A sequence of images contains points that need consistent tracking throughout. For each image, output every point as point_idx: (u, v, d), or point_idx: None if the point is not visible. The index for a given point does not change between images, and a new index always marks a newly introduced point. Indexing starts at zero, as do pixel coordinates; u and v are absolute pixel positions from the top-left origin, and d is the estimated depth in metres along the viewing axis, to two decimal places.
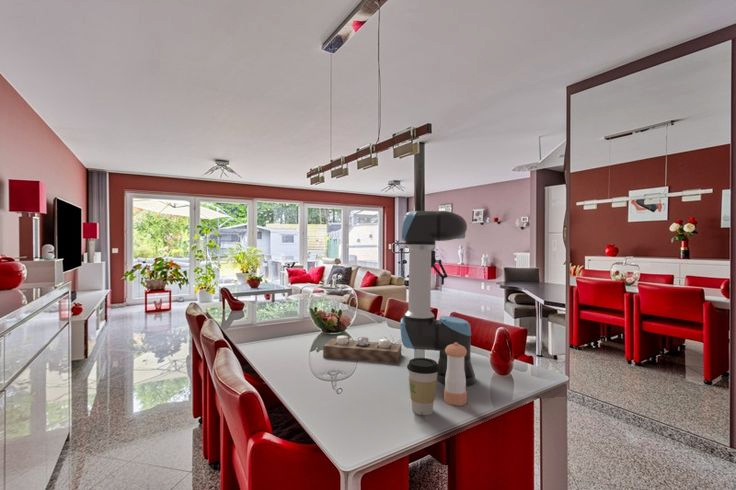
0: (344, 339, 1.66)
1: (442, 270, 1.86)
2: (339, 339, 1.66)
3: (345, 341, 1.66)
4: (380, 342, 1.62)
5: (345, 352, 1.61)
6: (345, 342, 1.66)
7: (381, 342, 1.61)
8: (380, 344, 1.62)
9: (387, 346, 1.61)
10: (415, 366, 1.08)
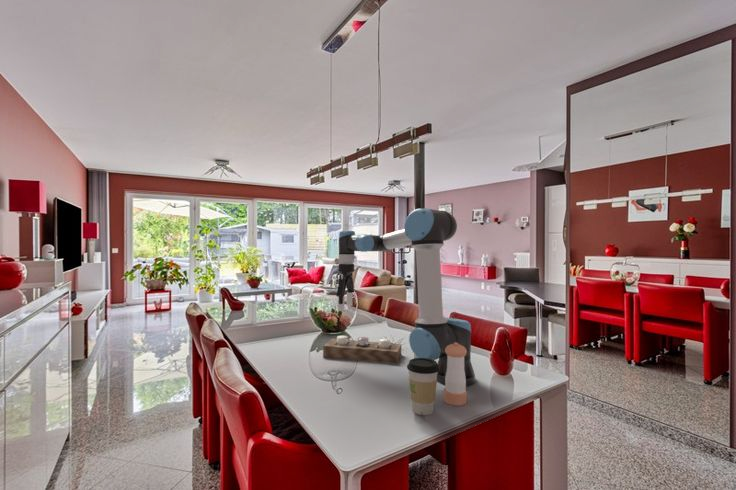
0: (344, 339, 1.66)
1: None
2: (339, 339, 1.66)
3: (345, 341, 1.66)
4: (380, 342, 1.62)
5: (345, 352, 1.61)
6: (345, 342, 1.66)
7: (381, 342, 1.61)
8: (380, 344, 1.62)
9: (387, 346, 1.61)
10: (415, 366, 1.08)
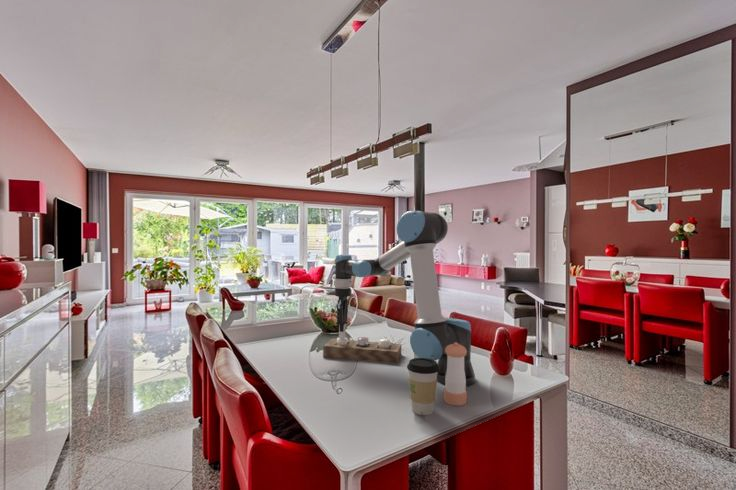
0: (344, 341, 1.66)
1: None
2: (339, 341, 1.66)
3: (345, 343, 1.66)
4: (380, 342, 1.62)
5: (345, 352, 1.61)
6: (345, 344, 1.66)
7: (381, 342, 1.61)
8: (380, 344, 1.62)
9: (387, 346, 1.61)
10: (415, 366, 1.08)
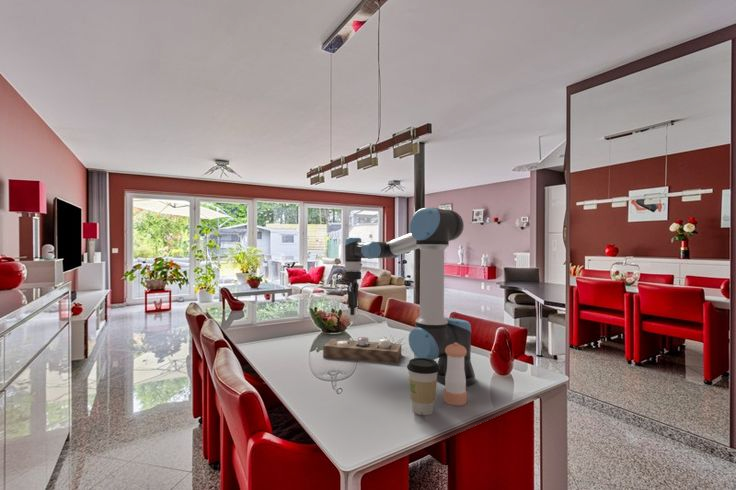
0: None
1: None
2: None
3: None
4: (380, 342, 1.62)
5: (345, 352, 1.61)
6: None
7: (381, 342, 1.61)
8: (380, 344, 1.62)
9: (387, 346, 1.61)
10: (415, 366, 1.08)
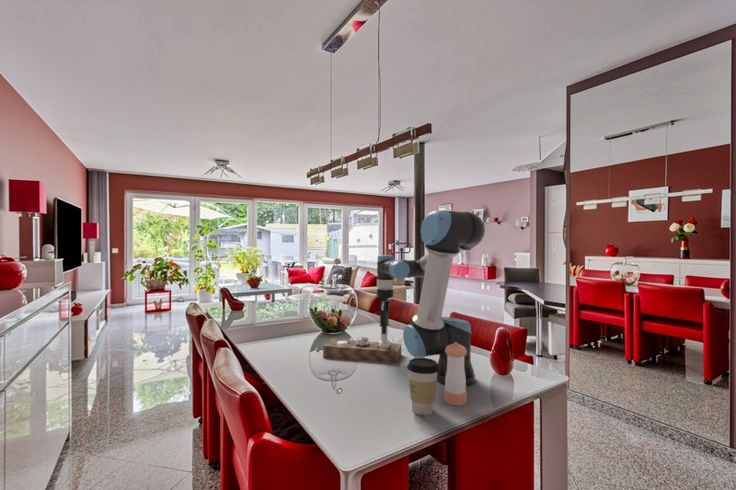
0: None
1: None
2: None
3: None
4: (380, 343, 1.62)
5: (345, 352, 1.61)
6: None
7: (381, 343, 1.61)
8: (380, 345, 1.62)
9: (387, 347, 1.61)
10: (415, 366, 1.08)
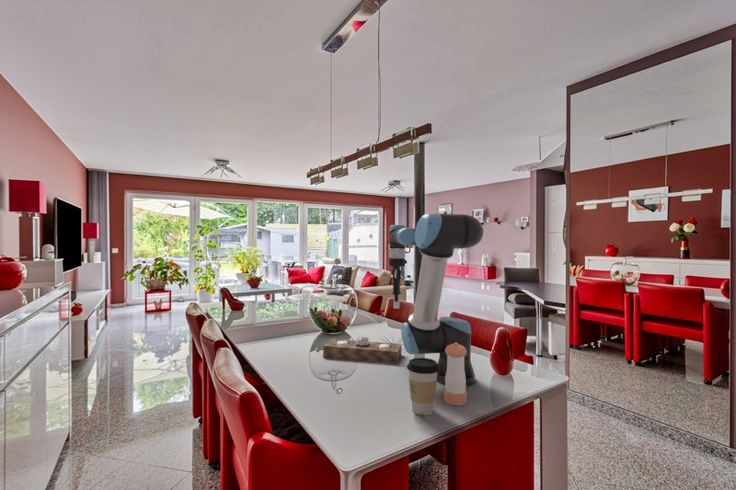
0: None
1: (393, 284, 1.65)
2: None
3: None
4: None
5: (345, 352, 1.61)
6: None
7: None
8: None
9: None
10: (415, 366, 1.08)
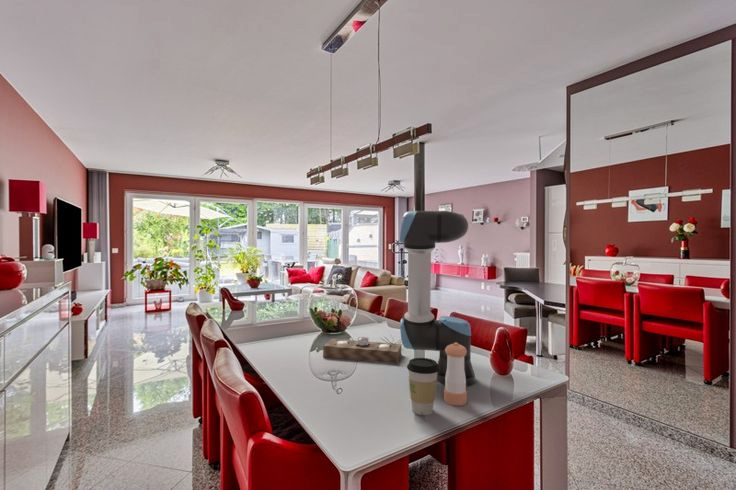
0: None
1: None
2: None
3: None
4: None
5: (345, 352, 1.61)
6: None
7: None
8: None
9: None
10: (415, 366, 1.08)
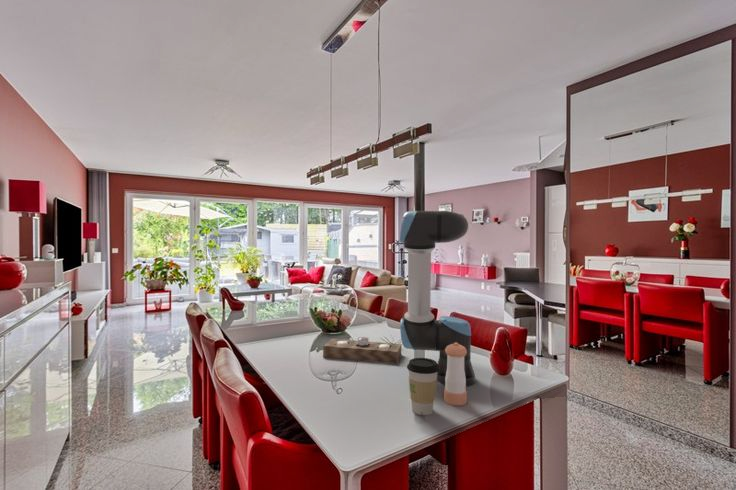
0: None
1: None
2: None
3: None
4: None
5: (345, 352, 1.61)
6: None
7: None
8: None
9: None
10: (415, 366, 1.08)
